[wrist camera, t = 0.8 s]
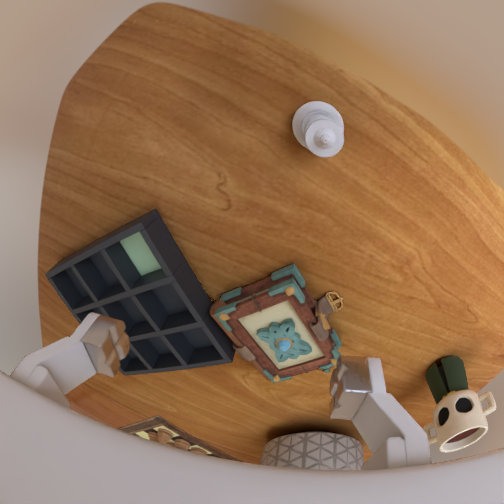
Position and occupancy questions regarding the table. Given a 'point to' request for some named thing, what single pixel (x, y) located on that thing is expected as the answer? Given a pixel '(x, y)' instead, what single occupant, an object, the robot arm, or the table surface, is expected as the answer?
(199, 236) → the table surface
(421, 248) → the table surface
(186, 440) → the chessboard
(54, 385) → the robot arm
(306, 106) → the chess piece
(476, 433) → the character mug
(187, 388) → the table surface
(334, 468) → the planter
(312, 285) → the table surface
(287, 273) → the decorative book
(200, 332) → the grid
